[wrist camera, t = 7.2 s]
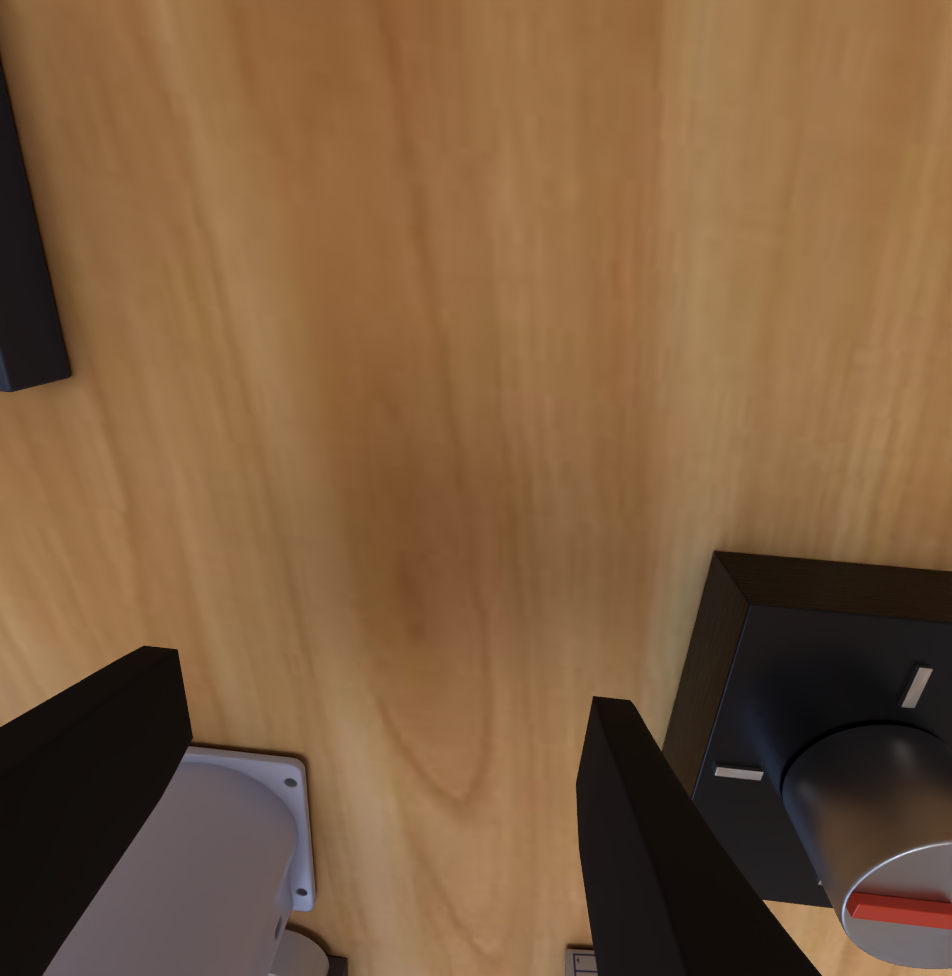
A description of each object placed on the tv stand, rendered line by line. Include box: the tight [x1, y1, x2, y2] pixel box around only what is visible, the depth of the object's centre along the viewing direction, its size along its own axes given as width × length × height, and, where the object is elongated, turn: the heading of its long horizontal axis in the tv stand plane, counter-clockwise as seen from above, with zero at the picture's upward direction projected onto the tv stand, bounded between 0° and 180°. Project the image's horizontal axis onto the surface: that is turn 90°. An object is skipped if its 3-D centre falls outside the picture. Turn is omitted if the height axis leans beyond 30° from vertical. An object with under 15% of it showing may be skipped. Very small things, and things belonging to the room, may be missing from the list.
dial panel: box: [662, 551, 952, 908], centre depth 18 cm, size 12×10×3 cm
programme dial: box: [782, 724, 952, 969], centre depth 15 cm, size 5×5×4 cm
